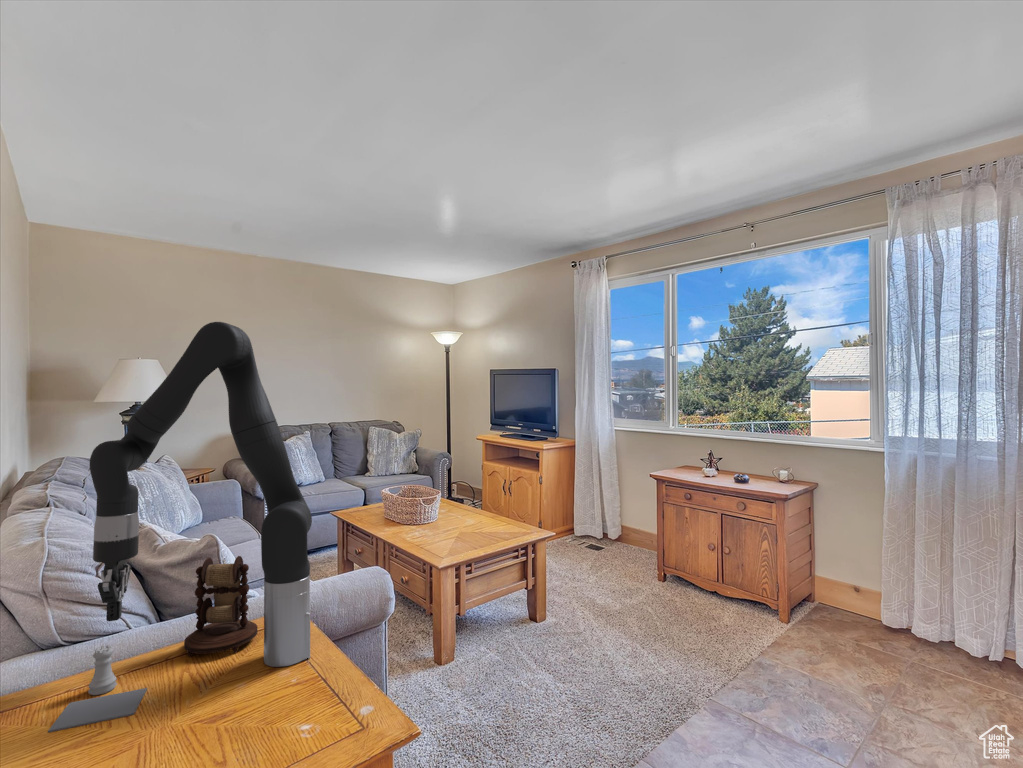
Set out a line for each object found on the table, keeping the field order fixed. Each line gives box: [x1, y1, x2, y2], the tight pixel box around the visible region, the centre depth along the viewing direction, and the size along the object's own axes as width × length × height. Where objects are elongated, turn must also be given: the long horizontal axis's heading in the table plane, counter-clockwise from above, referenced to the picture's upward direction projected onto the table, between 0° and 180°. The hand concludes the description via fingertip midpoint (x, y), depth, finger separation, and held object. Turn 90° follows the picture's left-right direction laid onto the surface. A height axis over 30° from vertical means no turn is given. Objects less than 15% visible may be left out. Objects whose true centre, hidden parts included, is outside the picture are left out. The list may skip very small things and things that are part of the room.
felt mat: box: [47, 687, 148, 733], centre depth 93 cm, size 12×9×1 cm
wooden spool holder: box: [183, 555, 258, 657], centre depth 119 cm, size 15×15×20 cm
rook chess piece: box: [87, 644, 118, 696], centre depth 100 cm, size 4×4×8 cm
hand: (113, 619), depth 106 cm, fingers closed
